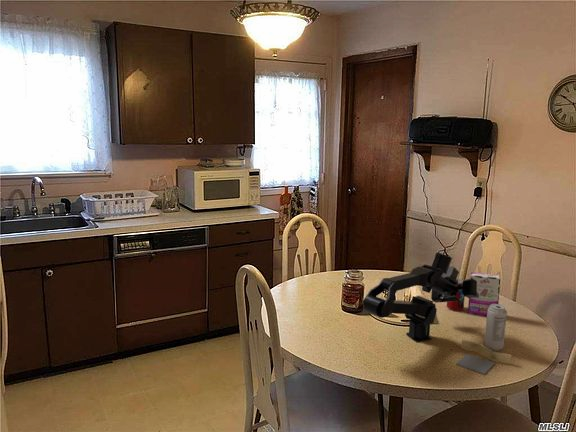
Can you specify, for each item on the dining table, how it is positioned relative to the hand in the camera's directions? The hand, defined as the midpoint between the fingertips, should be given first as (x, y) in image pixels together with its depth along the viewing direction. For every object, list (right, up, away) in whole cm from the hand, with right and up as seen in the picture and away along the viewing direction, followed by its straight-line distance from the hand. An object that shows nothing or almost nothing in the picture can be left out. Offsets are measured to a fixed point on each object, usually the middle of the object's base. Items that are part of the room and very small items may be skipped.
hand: (468, 297), depth 179 cm
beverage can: (+1, -8, +18) cm, 20 cm away
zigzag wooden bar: (-3, -16, -21) cm, 27 cm away
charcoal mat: (-8, -17, -27) cm, 33 cm away
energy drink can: (+3, -15, -16) cm, 21 cm away
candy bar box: (+11, -9, +13) cm, 19 cm away
